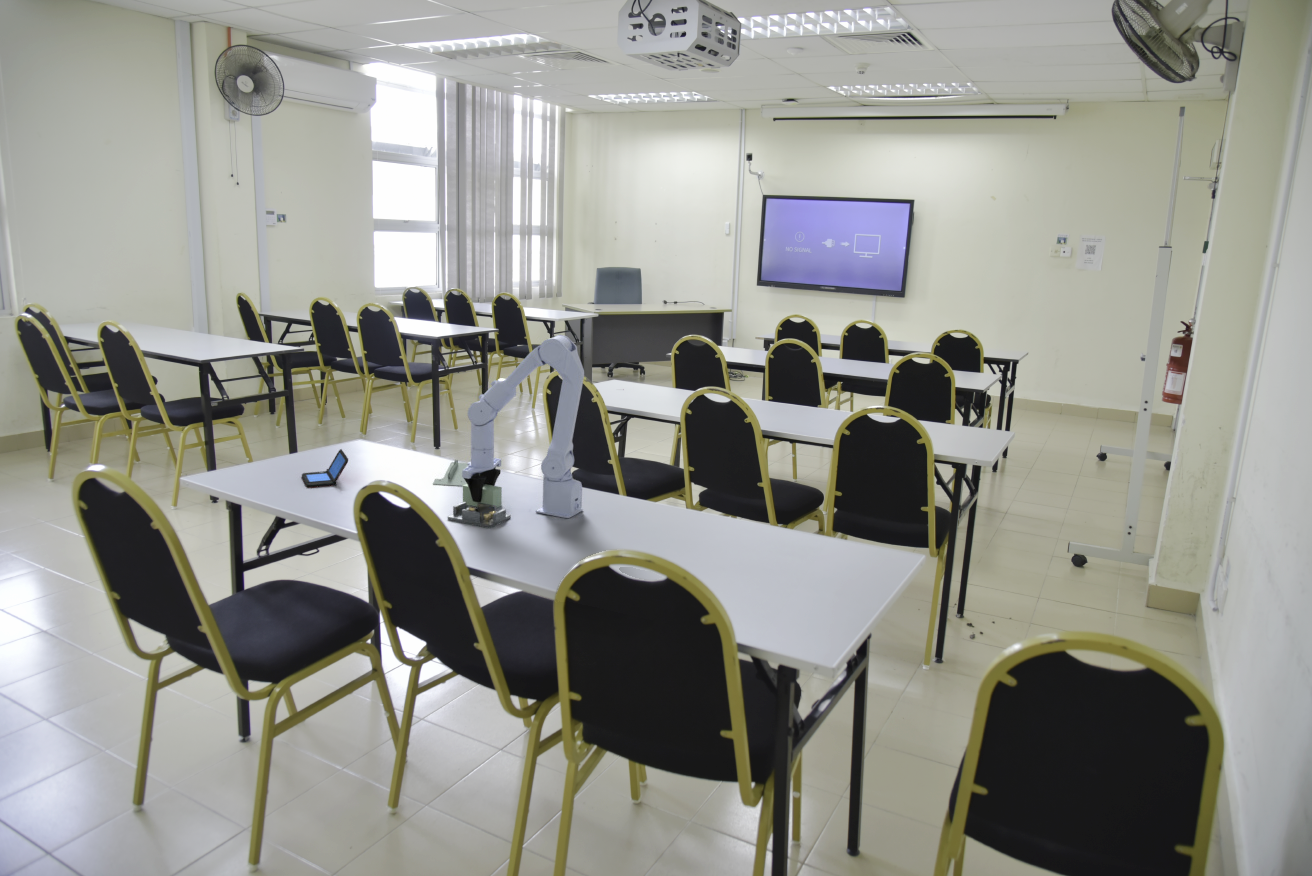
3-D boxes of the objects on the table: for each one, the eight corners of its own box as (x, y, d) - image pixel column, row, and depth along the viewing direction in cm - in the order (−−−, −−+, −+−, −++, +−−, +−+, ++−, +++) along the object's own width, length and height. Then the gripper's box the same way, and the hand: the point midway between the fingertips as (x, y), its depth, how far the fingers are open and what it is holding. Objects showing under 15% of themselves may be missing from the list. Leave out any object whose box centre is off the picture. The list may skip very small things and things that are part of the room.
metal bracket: (444, 454, 245) (496, 457, 244) (446, 472, 247) (497, 475, 247) (430, 481, 232) (485, 484, 232) (432, 499, 235) (486, 502, 234)
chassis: (510, 517, 210) (510, 507, 209) (490, 528, 201) (490, 516, 201) (469, 510, 214) (469, 499, 213) (447, 519, 206) (447, 508, 205)
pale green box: (501, 505, 219) (501, 485, 218) (492, 510, 216) (492, 489, 214) (471, 500, 222) (471, 480, 221) (462, 504, 219) (462, 484, 218)
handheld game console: (301, 477, 236) (299, 451, 234) (342, 473, 241) (341, 448, 239) (306, 489, 225) (305, 462, 224) (349, 485, 230) (348, 458, 229)
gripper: (485, 440, 224) (485, 489, 227) (451, 451, 211) (452, 503, 214) (508, 443, 221) (507, 494, 224) (475, 455, 208) (475, 508, 211)
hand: (482, 499), depth 219 cm, fingers open, 4 cm apart
